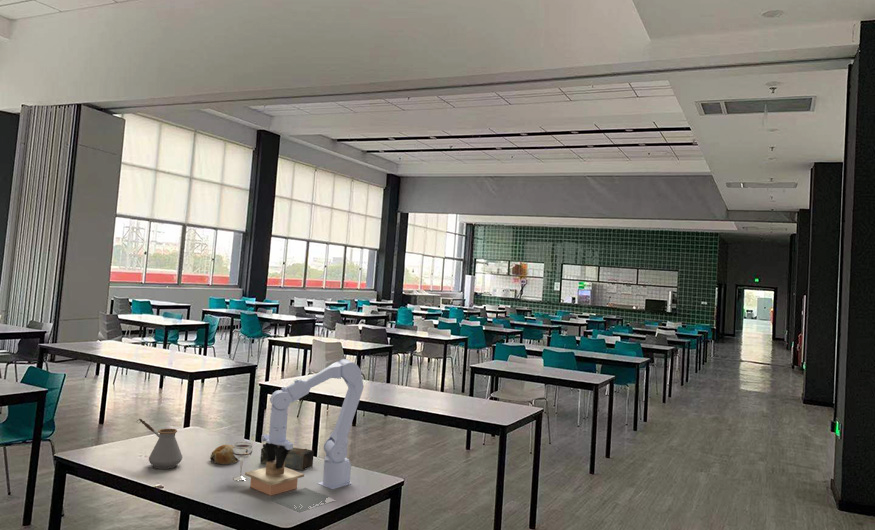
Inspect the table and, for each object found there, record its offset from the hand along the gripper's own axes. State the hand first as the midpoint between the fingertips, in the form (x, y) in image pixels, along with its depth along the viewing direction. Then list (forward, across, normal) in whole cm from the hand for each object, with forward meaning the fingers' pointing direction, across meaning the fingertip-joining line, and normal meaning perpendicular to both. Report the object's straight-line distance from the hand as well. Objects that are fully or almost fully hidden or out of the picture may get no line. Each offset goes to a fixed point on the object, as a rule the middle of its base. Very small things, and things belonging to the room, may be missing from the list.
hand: (275, 466), depth 216 cm
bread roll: (+8, -37, +6) cm, 39 cm away
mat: (+8, +15, 0) cm, 17 cm away
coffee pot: (+8, -50, -15) cm, 53 cm away
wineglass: (+8, -16, -2) cm, 18 cm away
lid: (+3, 0, 0) cm, 3 cm away
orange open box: (+8, 0, 0) cm, 8 cm away
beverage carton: (+8, -19, +21) cm, 30 cm away
